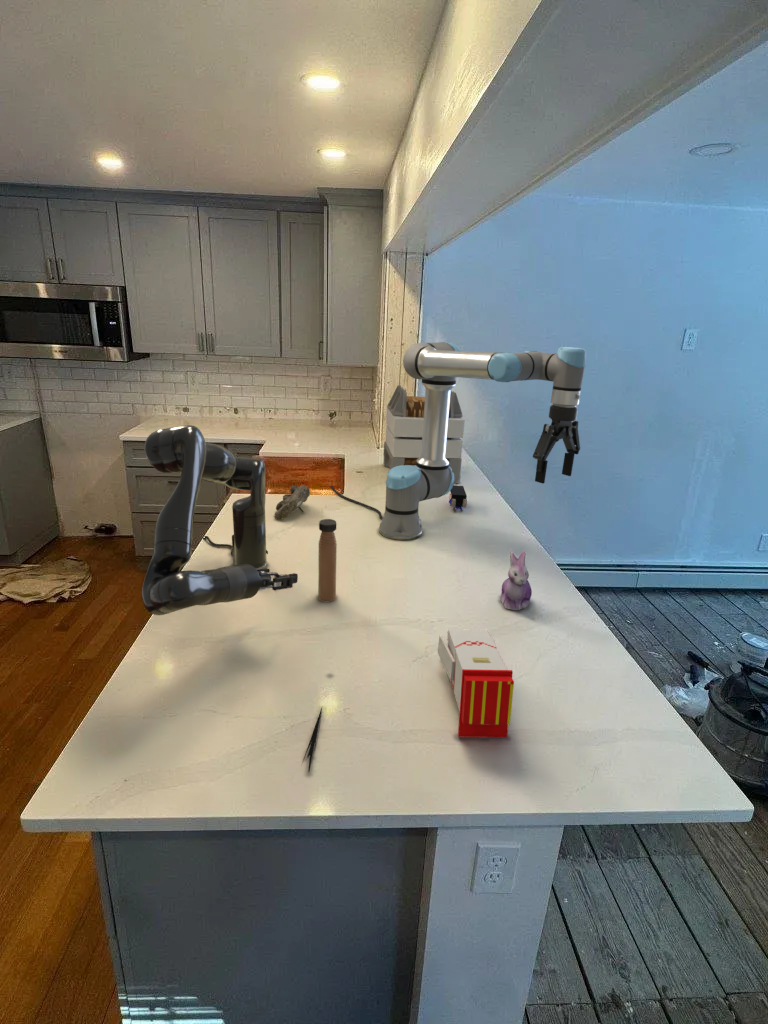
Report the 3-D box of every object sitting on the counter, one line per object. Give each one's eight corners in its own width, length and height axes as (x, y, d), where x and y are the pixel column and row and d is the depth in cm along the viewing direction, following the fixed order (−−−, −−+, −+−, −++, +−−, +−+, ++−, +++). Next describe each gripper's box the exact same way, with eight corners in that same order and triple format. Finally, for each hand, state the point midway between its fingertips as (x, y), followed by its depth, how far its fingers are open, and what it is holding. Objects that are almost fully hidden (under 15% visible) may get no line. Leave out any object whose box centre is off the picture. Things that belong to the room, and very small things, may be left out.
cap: (339, 528, 148) (339, 521, 148) (330, 533, 145) (330, 526, 144) (325, 524, 150) (325, 517, 150) (315, 529, 147) (315, 522, 146)
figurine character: (467, 516, 223) (461, 500, 237) (469, 499, 220) (463, 483, 233) (450, 516, 223) (446, 499, 236) (452, 498, 220) (447, 483, 233)
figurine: (514, 615, 149) (521, 563, 144) (490, 597, 158) (496, 548, 153) (541, 608, 153) (549, 557, 148) (516, 591, 162) (523, 543, 157)
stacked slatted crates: (382, 463, 289) (386, 382, 275) (445, 464, 293) (451, 384, 279) (390, 482, 257) (394, 392, 243) (460, 483, 261) (468, 394, 247)
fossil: (279, 491, 226) (308, 470, 221) (295, 509, 228) (323, 489, 223) (264, 515, 206) (294, 493, 201) (281, 534, 209) (312, 514, 204)
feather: (331, 679, 122) (336, 673, 122) (307, 777, 96) (313, 769, 95) (324, 675, 122) (329, 669, 121) (298, 772, 95) (304, 764, 95)
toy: (488, 613, 130) (523, 677, 101) (484, 667, 133) (517, 744, 104) (435, 612, 130) (455, 676, 101) (432, 666, 133) (451, 743, 103)
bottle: (339, 596, 155) (340, 522, 148) (329, 603, 151) (330, 528, 144) (324, 591, 157) (325, 518, 150) (314, 598, 153) (314, 524, 146)
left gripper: (259, 570, 117) (307, 563, 131) (210, 561, 124) (260, 556, 138) (257, 606, 118) (305, 595, 132) (208, 595, 125) (258, 586, 139)
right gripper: (550, 410, 147) (539, 488, 154) (600, 404, 163) (587, 475, 170) (526, 406, 152) (516, 482, 160) (576, 400, 168) (565, 469, 175)
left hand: (282, 575), depth 135 cm, fingers open, 8 cm apart
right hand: (553, 478), depth 165 cm, fingers open, 13 cm apart
